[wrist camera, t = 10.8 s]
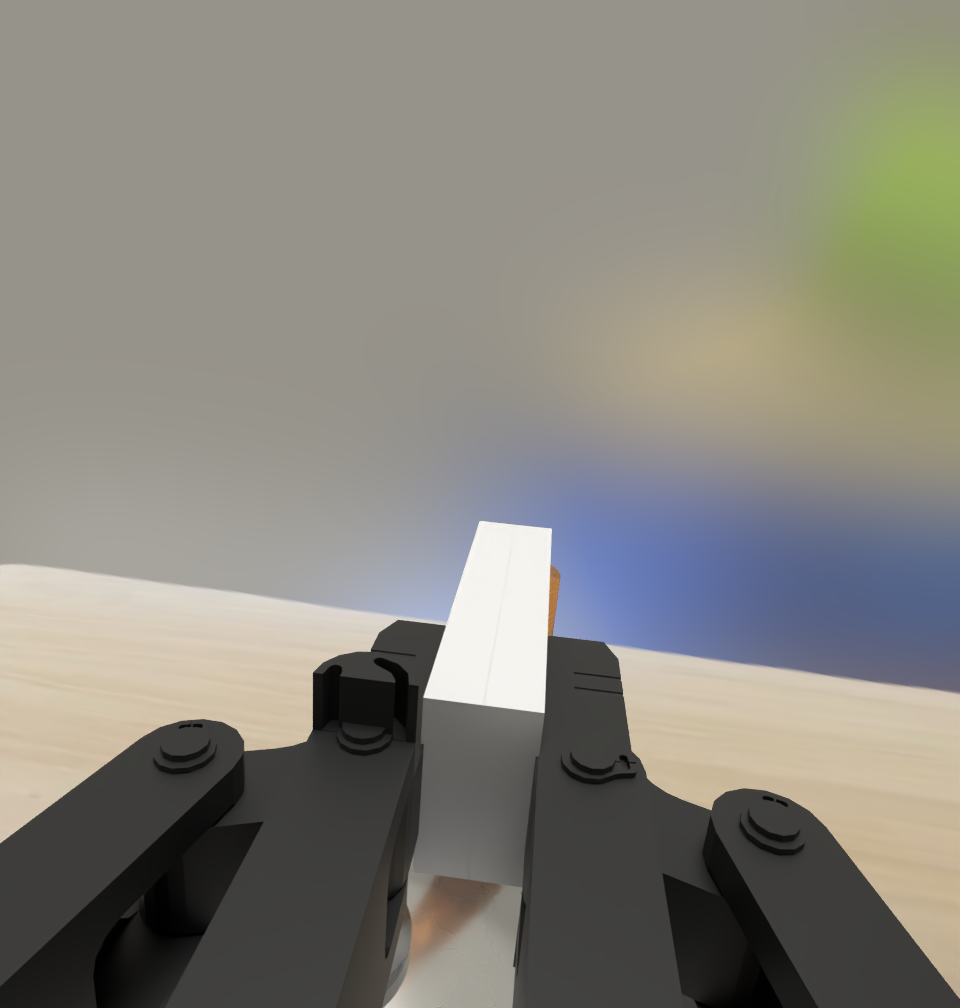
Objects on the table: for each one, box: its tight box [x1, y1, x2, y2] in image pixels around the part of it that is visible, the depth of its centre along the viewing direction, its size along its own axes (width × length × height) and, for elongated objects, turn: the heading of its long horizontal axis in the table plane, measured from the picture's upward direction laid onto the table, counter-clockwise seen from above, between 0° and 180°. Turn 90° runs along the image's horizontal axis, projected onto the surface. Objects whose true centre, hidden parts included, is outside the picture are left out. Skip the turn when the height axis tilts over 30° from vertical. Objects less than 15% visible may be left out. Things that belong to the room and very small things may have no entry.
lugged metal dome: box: [382, 565, 560, 1008], centre depth 23 cm, size 21×19×15 cm
